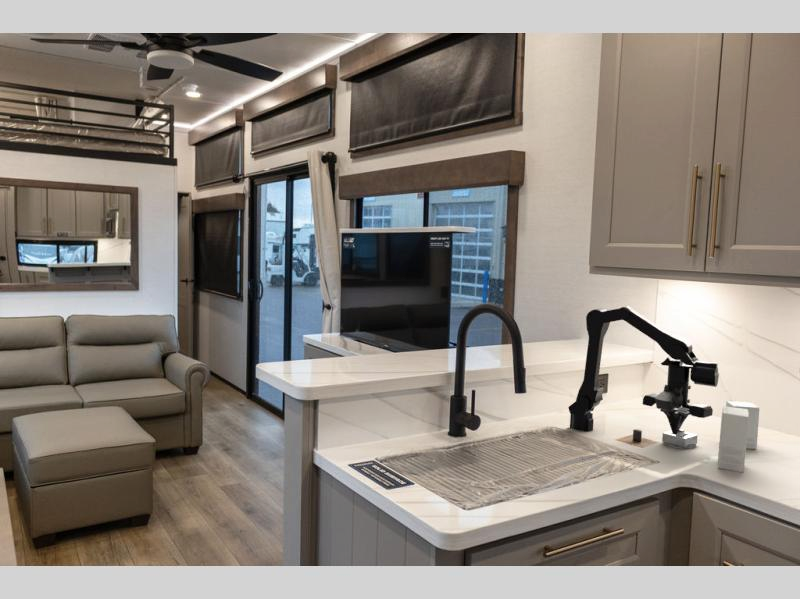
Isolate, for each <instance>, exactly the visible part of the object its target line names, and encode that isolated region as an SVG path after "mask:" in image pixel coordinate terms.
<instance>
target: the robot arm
mask: <svg viewBox="0 0 800 599" xmlns="http://www.w3.org/2000/svg"><path fill="white" fill-rule="evenodd" d="M616 321H617V322H618V321H623V322H626V323H627V324H628V325H630V326H631V327H633V328H635V329H636V330H638V331H639V332H641V333H642V334H644V335H645V336H647V337H648V338H649V339H651V340H652V341H654V342H655V343H657V344H658V346H660V348H661V350H663V351H664V353H666V354H667V355H668V357H666V359H664V360H663V361H662V362H661V363H660V365H661V366H667V380H666V381H667V384H664V387H663V391H661V392H660V393H659V394H656V393H650V394H645V395H644V396H643V398H642V405H644V406H648V407H653V406H654V405H655V407H656V409H658V410H660V412H662V413H663V414H664V415H665V416H666V418H667V421H668V423H669V427H670V429H671V430H672V433H673V434H677V433H678V431H679V429H680V428H681V427H682V426H683V424H684V422H685V420H686V419H687V418H688V417H689V416H691V417H696V418H700V419H705V418H709V417H712V416H713V411H714V409H713V408H712V406H711V405H710V404H704V403H698V402H697V403H696V404H695V403H694V404H690V403H691V402H690V401H691V400H690V398H689V390H691V389H692V388H691V386H692V385H690V384H689V383H690V380H691V382H693V383H694V385H699V386H708V387H714V388H717V386H718V382H719V377H720V373H719V368H718V362H715V361H713V362H712V361H711V362H709V361H700V359H699V358H698V357H697V355H696V354H695V352H694V351H693V345H692V343H691V341H690V340H688V339H686V338H685V337H682V336H681V335H680V336H679V335H677V334H675V333H671V332H670V331H667V330H665V329H663V328H662V327H660V326H659V325H657V324H656V323H654V322H652V321H651V320H650V319H648V318H646V317H645V316H644V315H642V314H641V313H639V312H637V311H636V310H634V309H633V307H631V306H628V305H627V306H622V307H620V308H615V309H609V310H607V309H605V308H596V309H592V310H590V311H589V312H587V314H586V317H585V322H586V324H585V325H586V331H587V334H588V343H587V351H586V358H585V359H586V360H585V366H584V374H583V380H582V383H581V385H580V386H579V387H580V388H579V389H578V392H577V394H576V400H575V401H574V402H573V403H572V404H570V405H569V406H568V412H569V414H570V418H569V427H567V428H566V430H569V429H573V430H575V431H580V432H588V433H590V432H593V431H594V420H595V419H594V418H593V415H594V413H592V412H594V410H595V408H596V407H597V406H599V405H600V404H601V401H603V400H604V398H603V393H604V390H605V388H604V387H603V386H602V387H600V384H599V377H600V369H601V361H602V353H603V344H604V338H605V336H606V334H607V332H608V329H609V326H610V324H611V323H612V322H616ZM681 429H682V428H681ZM671 430H670V431H671Z"/></svg>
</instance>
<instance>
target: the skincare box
mask: <svg viewBox="0 0 800 599" xmlns="http://www.w3.org/2000/svg"><path fill="white" fill-rule="evenodd" d="M748 424H749V412H748V409H742V408H733V407H726V405H723V406H722V411H721V421H720V432H719V433H720V434H719V444H718V455H717V458H718V460H717V468H718V469H722V470H726V471H732V472H740V473H744V472H745V464H746V463H745V462H746V452H747V448H746V446H747V435H748Z"/></svg>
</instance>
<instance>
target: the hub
mask: <svg viewBox="0 0 800 599" xmlns="http://www.w3.org/2000/svg"><path fill="white" fill-rule="evenodd" d="M685 432H686V430H685V429H684V428H680V429H679V431H678V433H677V434H676V435H678V436H682V437H683V436H684V435H685ZM662 443H663V444H664V445H665V446H668V447H670V448H673V449H674V448H675V449H679V450H680V449H681V450H694V449H696V448H697V444H694V445H691V446H688V447H685V448H684V447H680V446H677V445H673V444H669V443H666V442H662Z"/></svg>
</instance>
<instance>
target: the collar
mask: <svg viewBox="0 0 800 599" xmlns="http://www.w3.org/2000/svg"><path fill="white" fill-rule="evenodd" d="M661 441H662V443H663V442H666V443H669V444H673V445H677V446H680V447H684V448H685V447H688V446H691V445H694V444H696V445H697V444H698V434H695V433H691V432H687V431H685V435H684V436H683V437H682V436H678V435H676V434H673V433H672V430H668V431H665V432H663V433H662V440H661Z"/></svg>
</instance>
